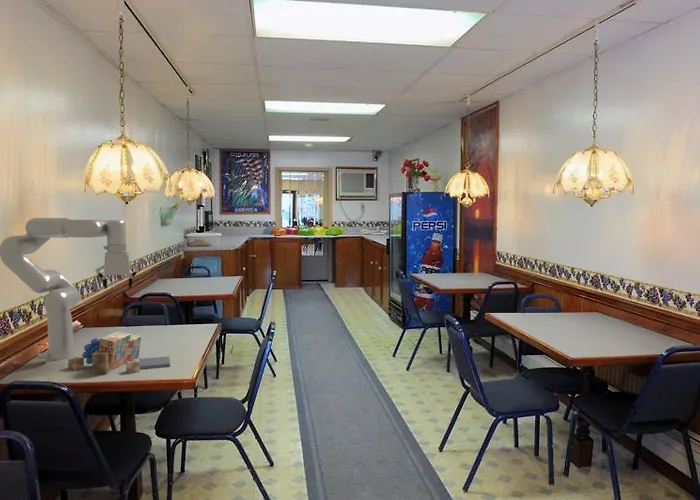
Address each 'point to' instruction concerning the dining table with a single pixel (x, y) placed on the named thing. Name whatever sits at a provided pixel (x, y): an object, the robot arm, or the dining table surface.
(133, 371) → the maple cube
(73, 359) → the oak cube
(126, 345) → the stack of blocks
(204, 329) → the dining table surface
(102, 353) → the walnut block
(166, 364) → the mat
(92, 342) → the grapes
